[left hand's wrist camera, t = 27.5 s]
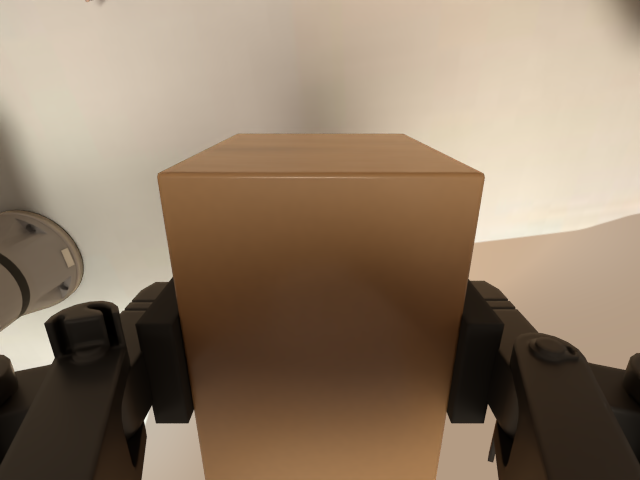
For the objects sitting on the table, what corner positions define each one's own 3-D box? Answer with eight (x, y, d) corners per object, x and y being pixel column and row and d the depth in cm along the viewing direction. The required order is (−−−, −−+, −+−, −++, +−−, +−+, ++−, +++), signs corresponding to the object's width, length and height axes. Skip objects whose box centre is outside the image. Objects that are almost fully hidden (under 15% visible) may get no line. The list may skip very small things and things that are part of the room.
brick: (388, 334, 17) (434, 494, 10) (251, 334, 17) (206, 494, 10) (405, 133, 14) (487, 173, 7) (235, 133, 14) (154, 173, 7)
